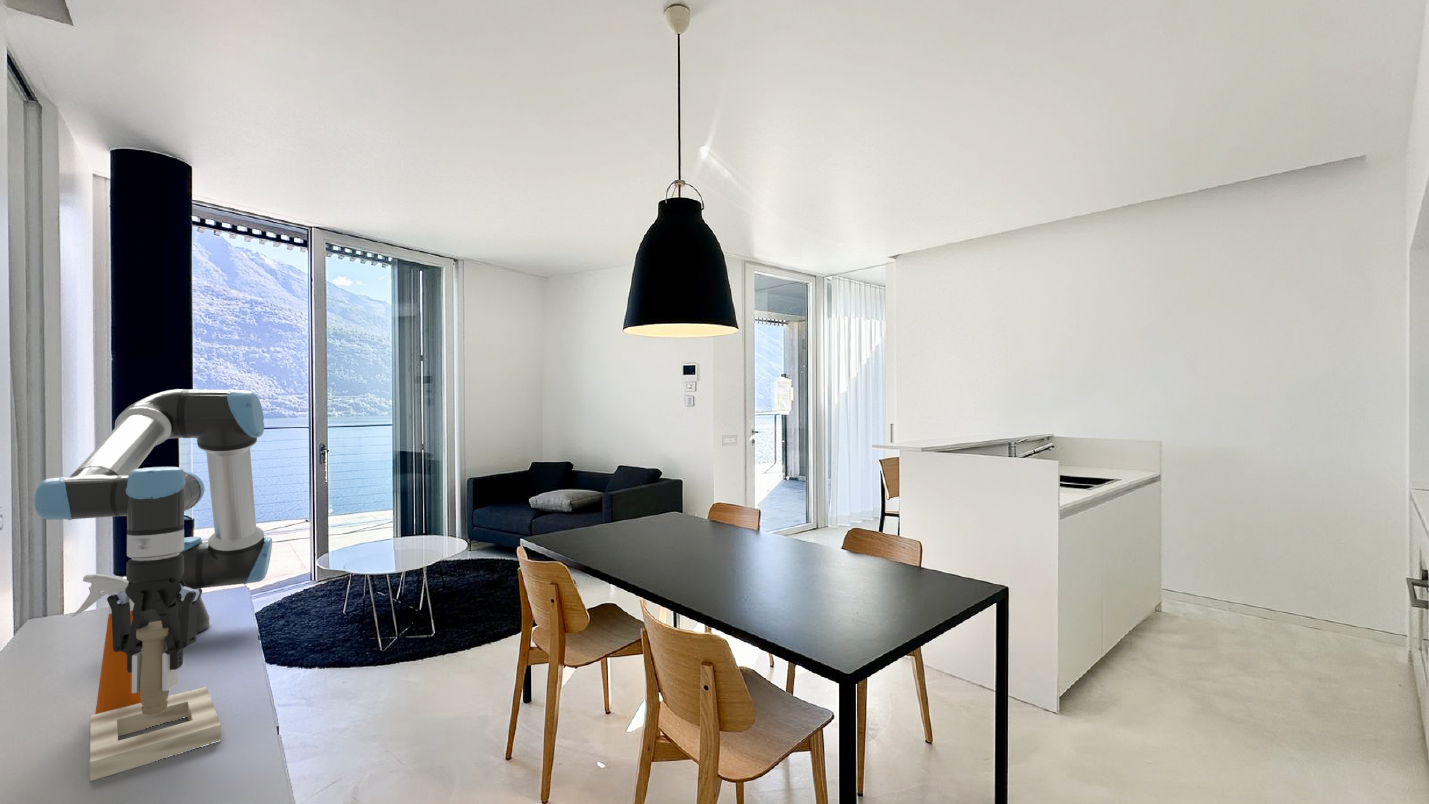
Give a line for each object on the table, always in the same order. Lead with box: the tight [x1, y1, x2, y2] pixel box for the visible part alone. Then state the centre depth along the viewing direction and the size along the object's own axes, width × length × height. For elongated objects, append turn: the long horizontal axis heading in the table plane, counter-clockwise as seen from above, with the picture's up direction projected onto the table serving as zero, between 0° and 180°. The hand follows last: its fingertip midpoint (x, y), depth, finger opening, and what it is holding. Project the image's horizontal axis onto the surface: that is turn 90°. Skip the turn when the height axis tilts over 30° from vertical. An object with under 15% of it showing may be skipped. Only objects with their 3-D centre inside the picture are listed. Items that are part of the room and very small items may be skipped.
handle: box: [136, 621, 170, 715], centre depth 109 cm, size 5×6×15 cm
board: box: [89, 686, 222, 782], centre depth 109 cm, size 20×16×3 cm
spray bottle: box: [71, 572, 141, 715], centre depth 118 cm, size 7×11×26 cm, turn 111°
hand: (155, 688), depth 109 cm, fingers closed on handle, 4 cm apart
